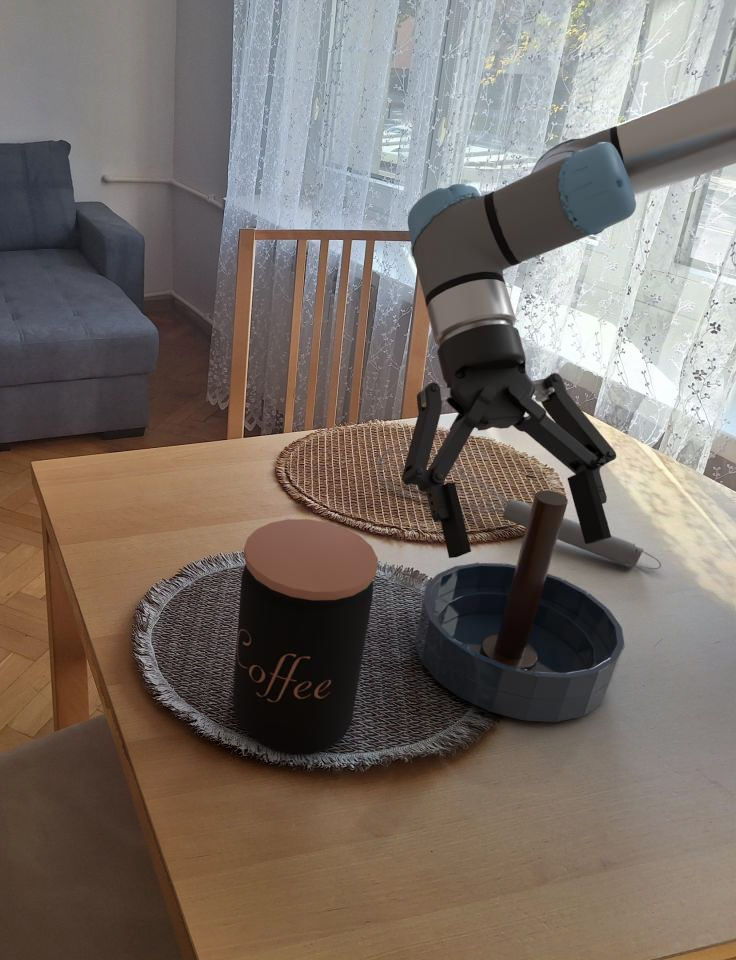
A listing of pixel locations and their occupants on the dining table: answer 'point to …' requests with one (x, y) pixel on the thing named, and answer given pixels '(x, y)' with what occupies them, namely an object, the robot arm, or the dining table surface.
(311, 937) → the dining table surface
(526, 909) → the dining table surface
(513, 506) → the kitchen whisk
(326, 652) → the coffee jar
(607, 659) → the bowl
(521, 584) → the stirring stick
